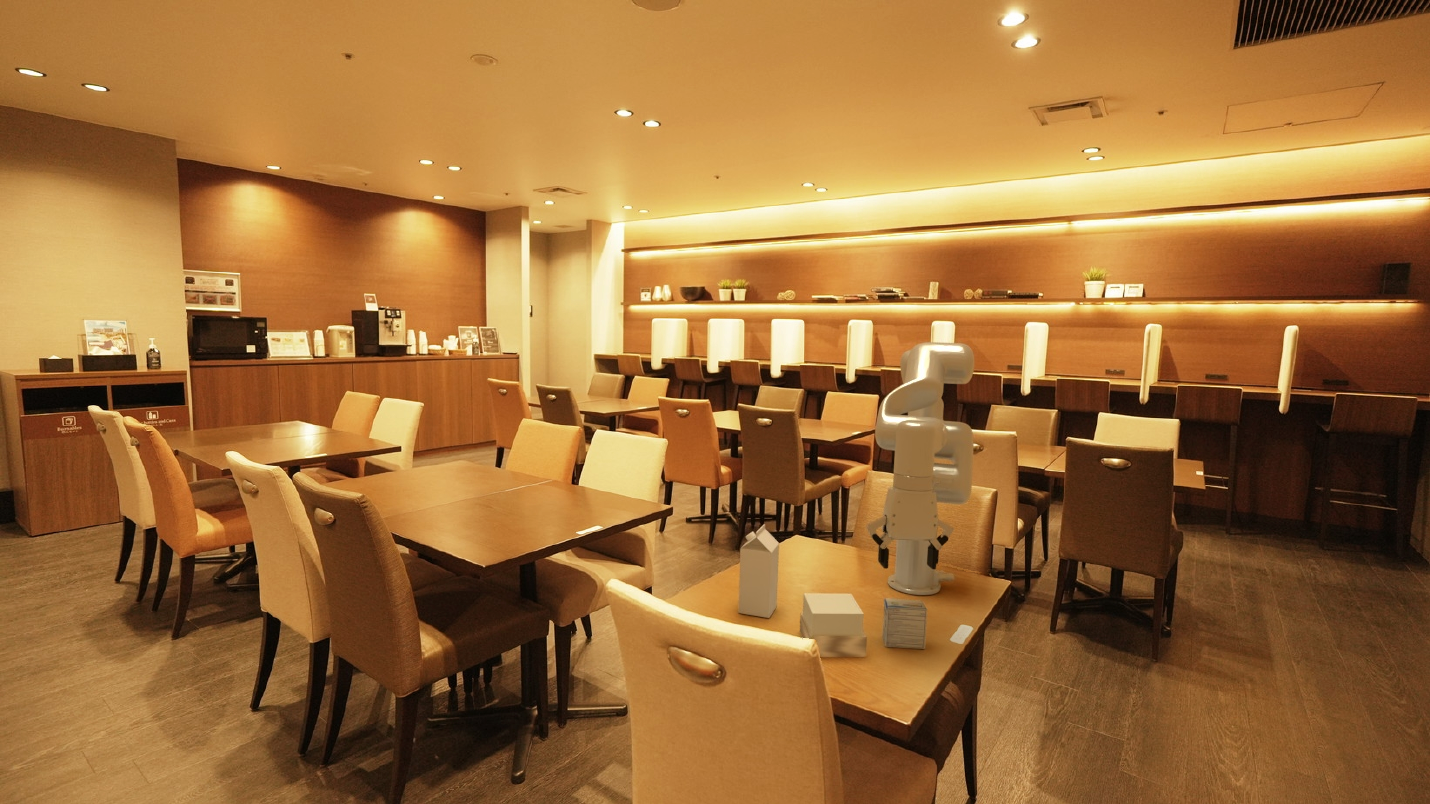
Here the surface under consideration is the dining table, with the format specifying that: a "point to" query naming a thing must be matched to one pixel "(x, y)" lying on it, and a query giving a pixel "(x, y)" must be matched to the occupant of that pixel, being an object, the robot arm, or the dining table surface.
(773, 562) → the milk carton
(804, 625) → the tower base
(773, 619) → the dining table surface
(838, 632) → the tower top
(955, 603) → the dining table surface
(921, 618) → the medicine box
